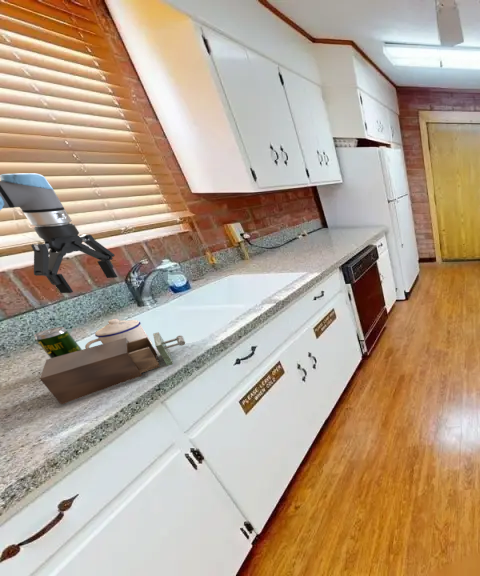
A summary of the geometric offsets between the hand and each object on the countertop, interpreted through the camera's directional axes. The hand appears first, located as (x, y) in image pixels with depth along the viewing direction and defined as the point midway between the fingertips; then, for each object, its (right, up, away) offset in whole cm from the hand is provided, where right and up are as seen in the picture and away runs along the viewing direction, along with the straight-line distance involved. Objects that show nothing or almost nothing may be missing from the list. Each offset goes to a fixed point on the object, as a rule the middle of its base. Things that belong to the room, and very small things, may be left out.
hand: (91, 284), depth 103 cm
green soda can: (+15, -25, -14) cm, 32 cm away
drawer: (+39, -24, -14) cm, 48 cm away
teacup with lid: (+24, -23, -8) cm, 34 cm away
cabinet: (+34, -28, -20) cm, 48 cm away
